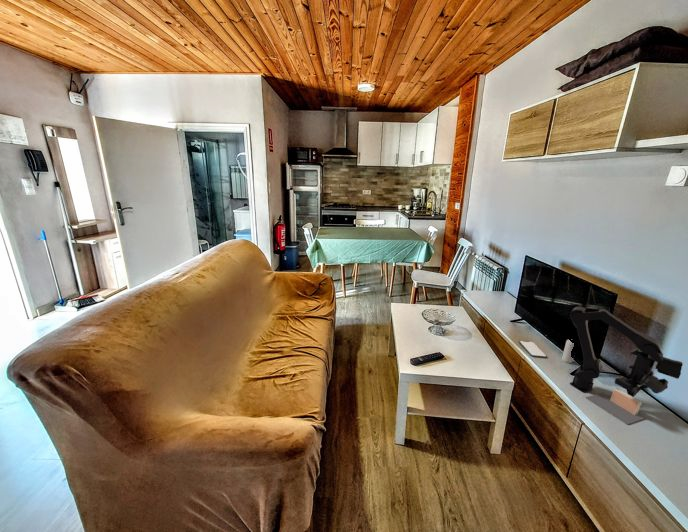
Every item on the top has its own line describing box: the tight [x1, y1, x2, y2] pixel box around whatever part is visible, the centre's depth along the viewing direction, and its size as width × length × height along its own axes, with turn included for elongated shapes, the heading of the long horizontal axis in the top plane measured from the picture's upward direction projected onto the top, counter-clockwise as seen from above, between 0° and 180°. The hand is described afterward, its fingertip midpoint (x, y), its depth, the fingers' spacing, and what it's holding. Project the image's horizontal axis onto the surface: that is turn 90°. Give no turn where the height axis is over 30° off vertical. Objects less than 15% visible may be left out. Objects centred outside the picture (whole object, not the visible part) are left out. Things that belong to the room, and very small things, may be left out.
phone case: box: [518, 340, 548, 359], centre depth 173 cm, size 9×2×16 cm
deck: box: [610, 387, 643, 415], centre depth 129 cm, size 9×2×6 cm, turn 19°
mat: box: [585, 392, 647, 425], centre depth 129 cm, size 16×12×1 cm
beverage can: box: [561, 338, 574, 364], centre depth 162 cm, size 5×5×12 cm
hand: (630, 397), depth 129 cm, fingers closed
